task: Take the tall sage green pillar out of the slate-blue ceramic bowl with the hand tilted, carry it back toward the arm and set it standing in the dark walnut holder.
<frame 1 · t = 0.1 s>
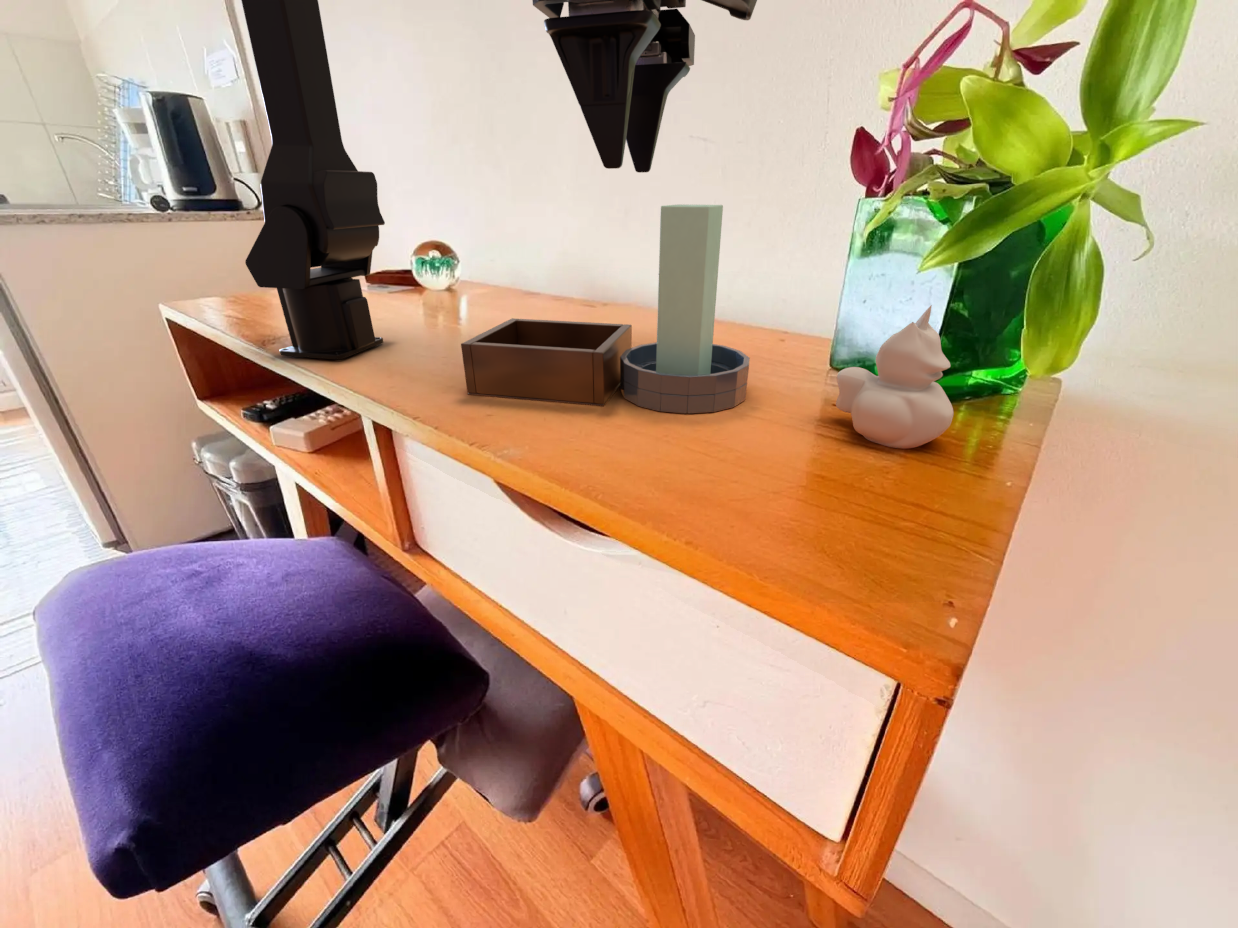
hand: (629, 170, 38), 15 cm above the table, tool pointing down, fingers open, 9 cm apart
holder: (554, 387, 41), on the table
tall sage green pillar: (682, 391, 39), resting on bowl
bowl: (682, 397, 39), on the table
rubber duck: (880, 443, 33), on the table
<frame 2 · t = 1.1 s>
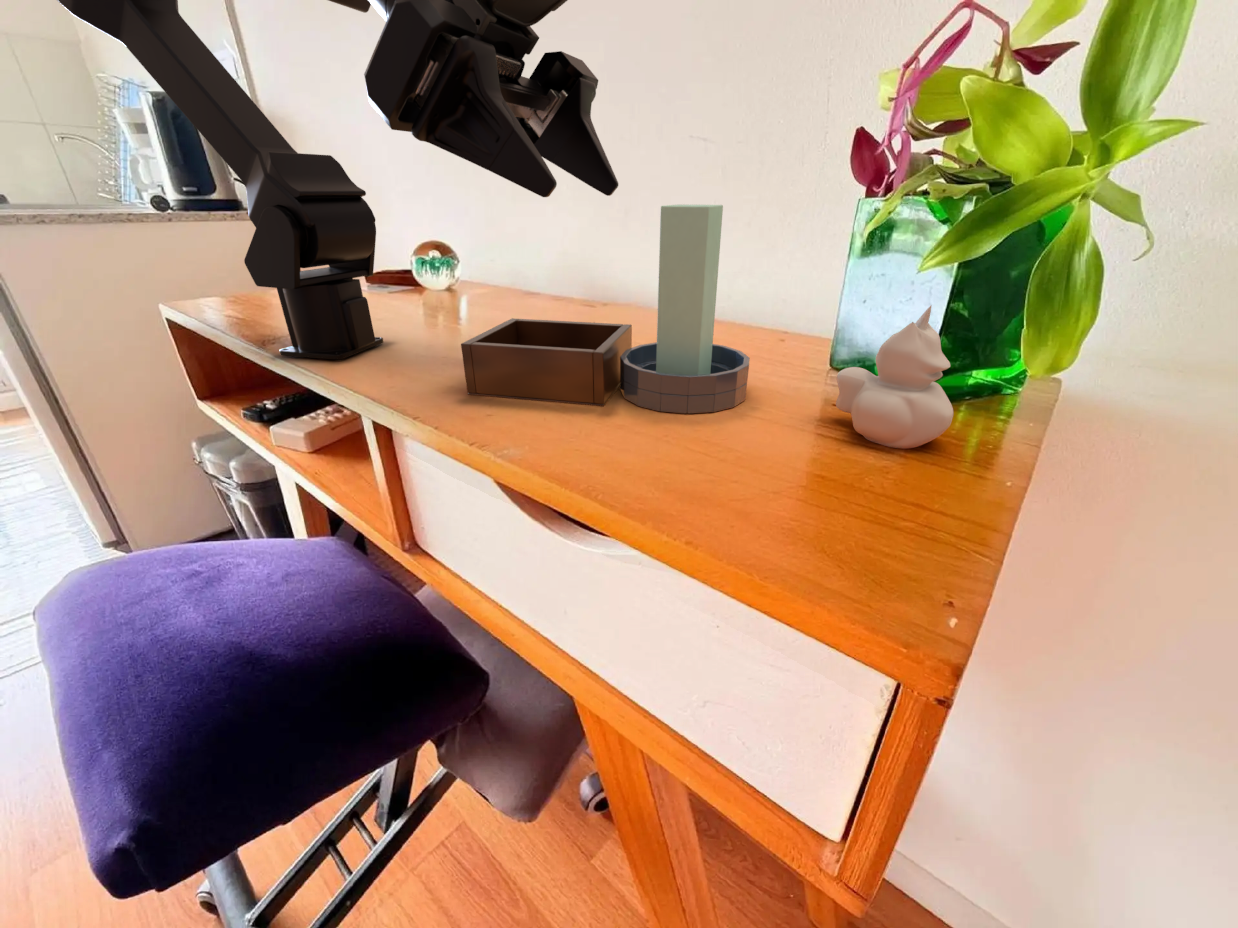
hand: (586, 191, 36), 13 cm above the table, tool tilted 45°, fingers open, 9 cm apart
nothing on the table moved.
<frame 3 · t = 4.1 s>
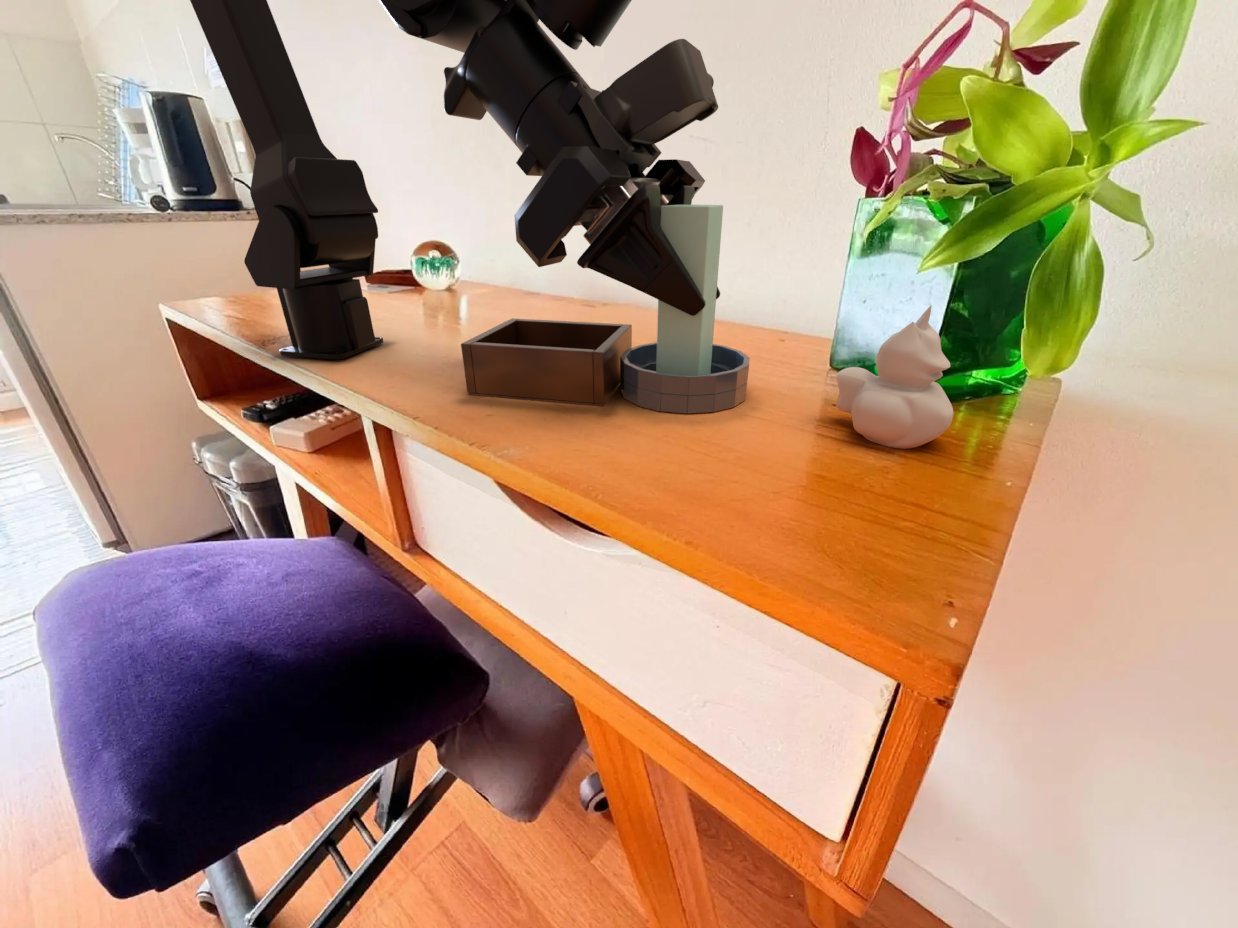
hand: (707, 305, 36), 7 cm above the table, tool tilted 45°, fingers closed on tall sage green pillar, 3 cm apart
tall sage green pillar: (683, 391, 39), point 1 cm above the table, touching bowl, gripper
everything else where it was.
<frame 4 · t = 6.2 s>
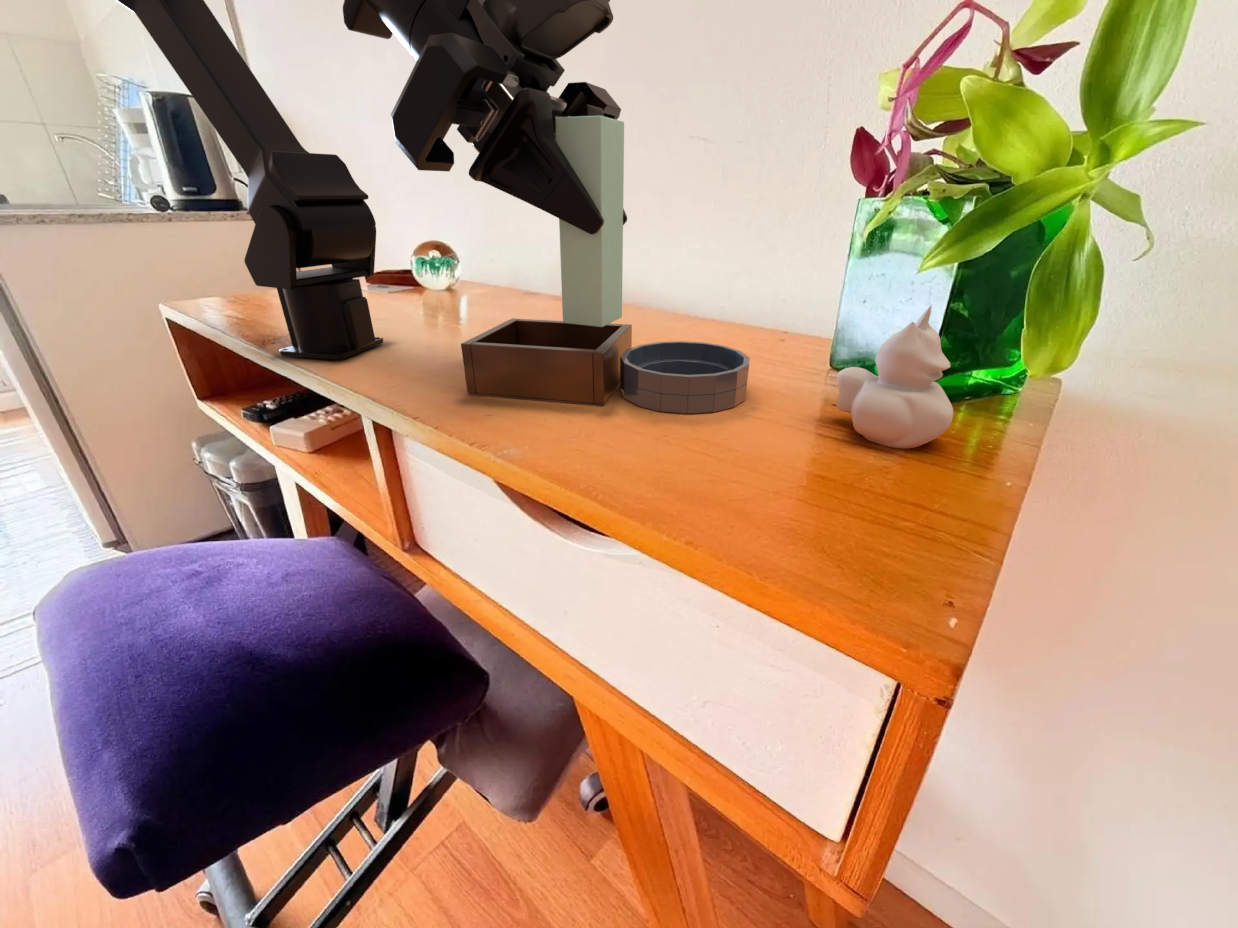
hand: (611, 227, 35), 11 cm above the table, tool tilted 45°, fingers closed on tall sage green pillar, 3 cm apart
tall sage green pillar: (593, 320, 38), point 5 cm above the table, touching gripper
everything else where it was.
when the fingers open (7 cm above the table, at t = 8.3 s): tall sage green pillar stays where it is, resting on holder.
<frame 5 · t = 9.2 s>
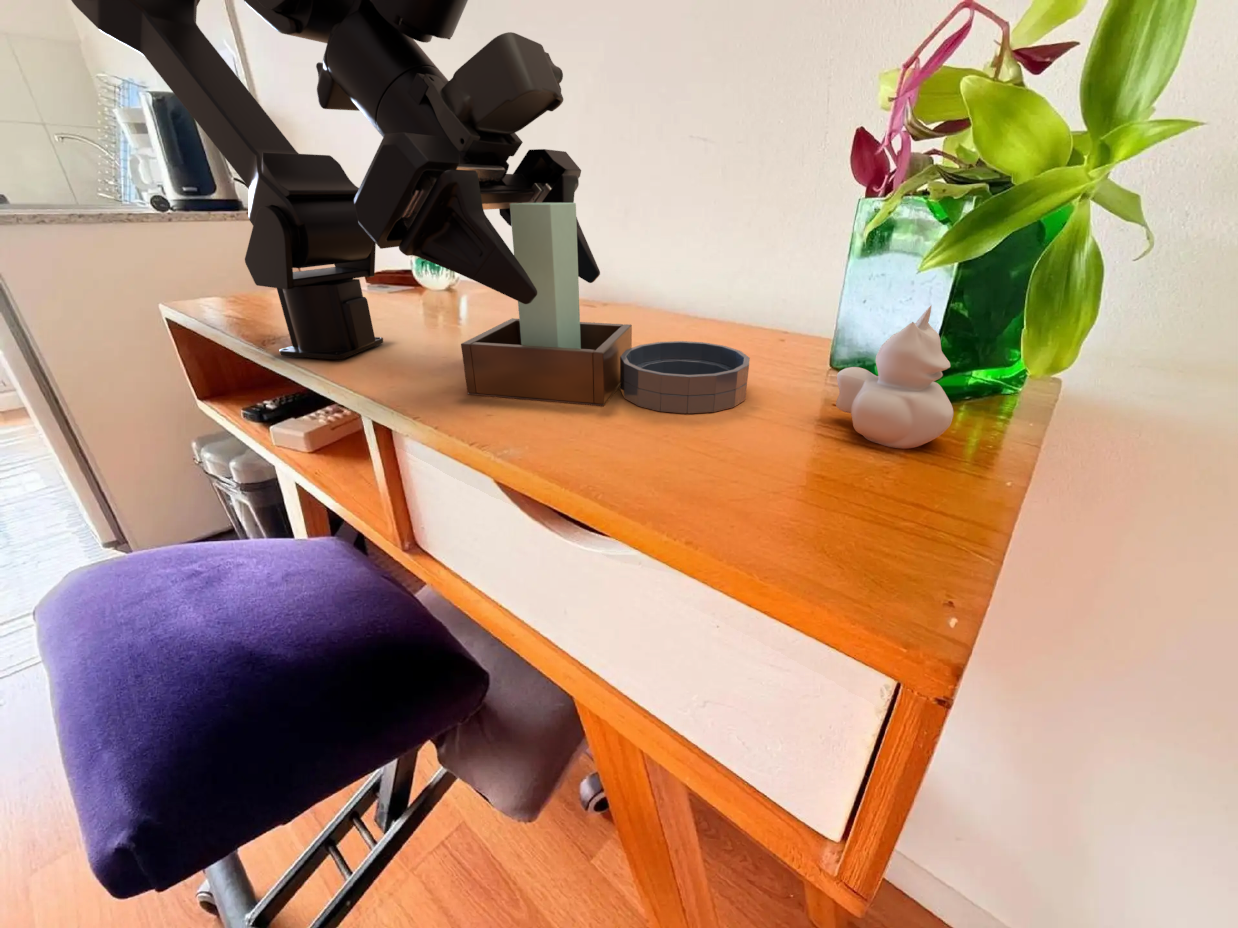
hand: (567, 288, 37), 7 cm above the table, tool tilted 45°, fingers open, 9 cm apart
tall sage green pillar: (553, 379, 41), point 1 cm above the table, touching holder
everything else where it was.
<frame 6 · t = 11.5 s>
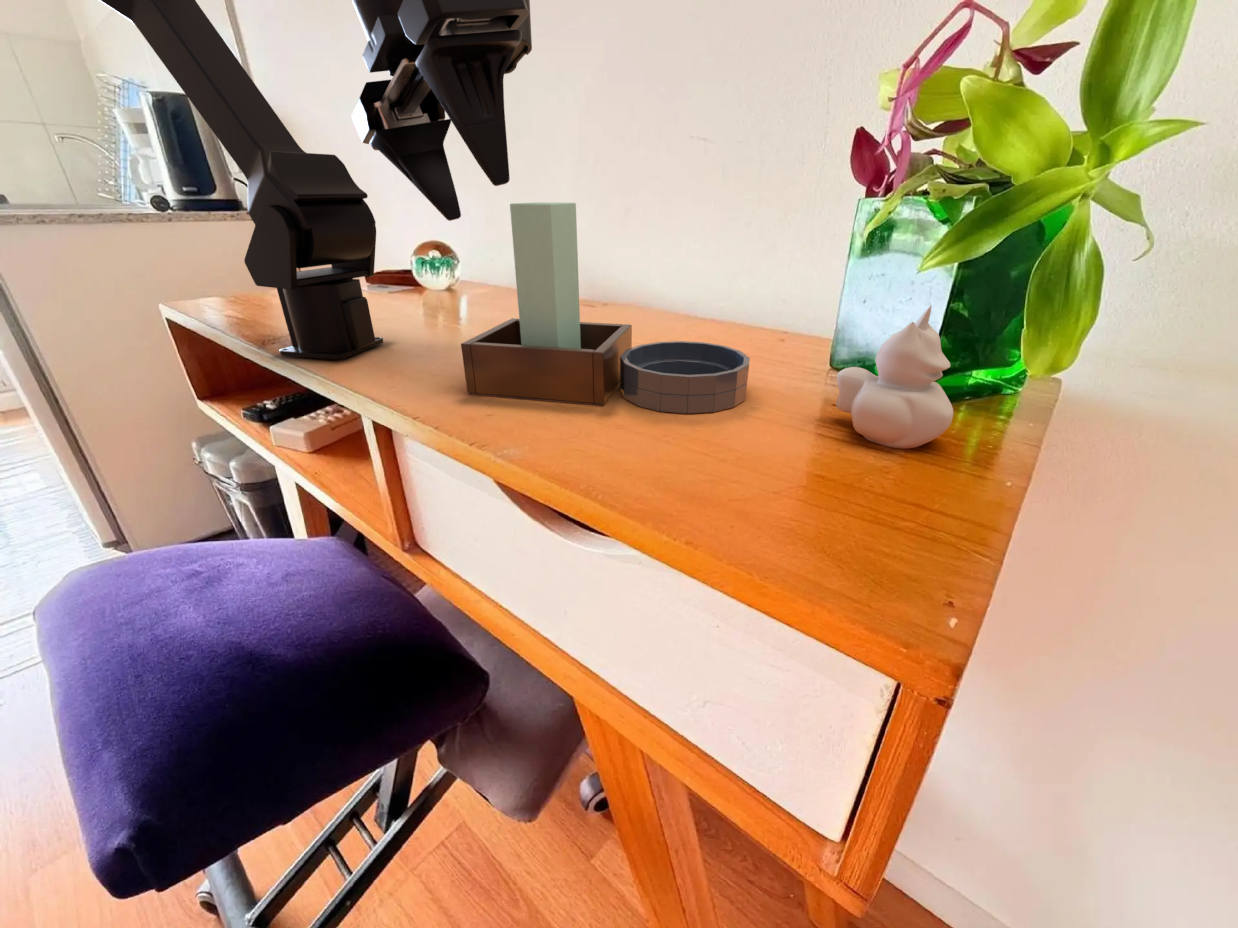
hand: (476, 203, 39), 13 cm above the table, tool tilted 20°, fingers open, 9 cm apart
nothing on the table moved.
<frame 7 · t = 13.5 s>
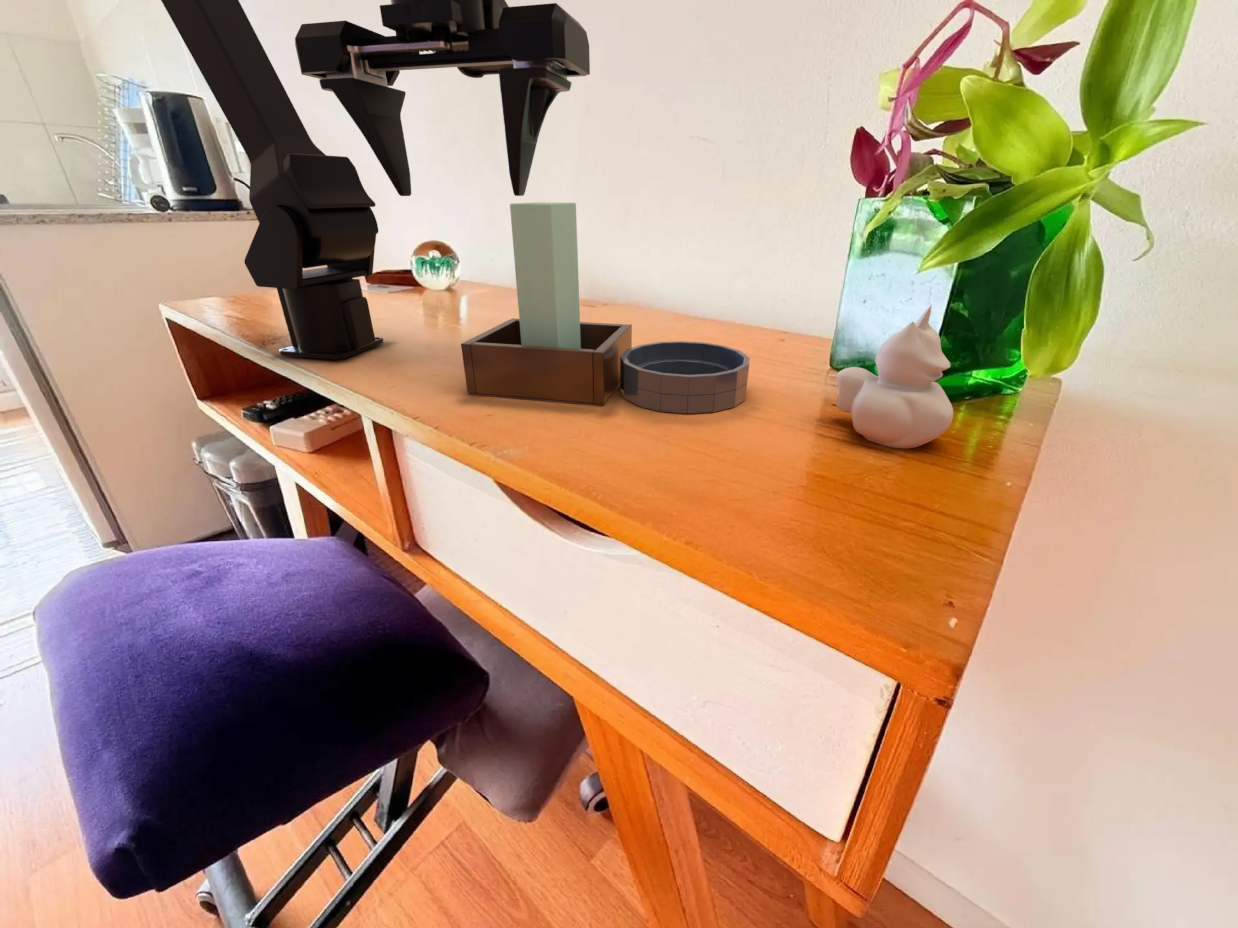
hand: (461, 196, 40), 13 cm above the table, tool pointing down, fingers open, 9 cm apart
nothing on the table moved.
at the end: tall sage green pillar inside the target area in the holder (0.1 cm from its centre), point 0.6 cm above the holder's base; the gripper is holding nothing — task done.
